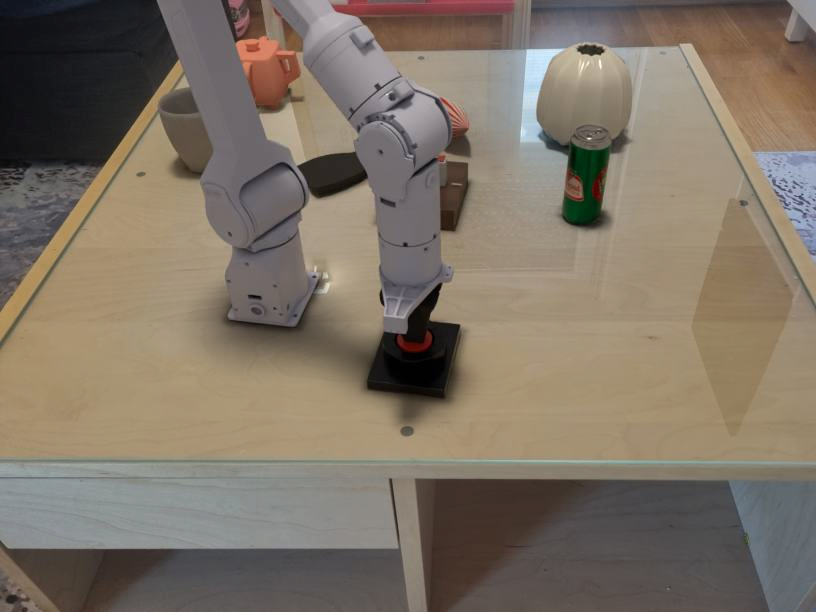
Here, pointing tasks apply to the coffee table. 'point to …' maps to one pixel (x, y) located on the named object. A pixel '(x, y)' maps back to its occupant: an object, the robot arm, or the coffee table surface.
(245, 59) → the teapot
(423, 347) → the button
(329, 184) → the fan shaped piece
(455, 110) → the ice cream cone
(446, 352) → the button block
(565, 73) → the vase
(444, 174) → the dial knob
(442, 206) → the dial panel
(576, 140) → the soda can
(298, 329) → the coffee table surface
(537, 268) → the coffee table surface
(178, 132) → the mug
